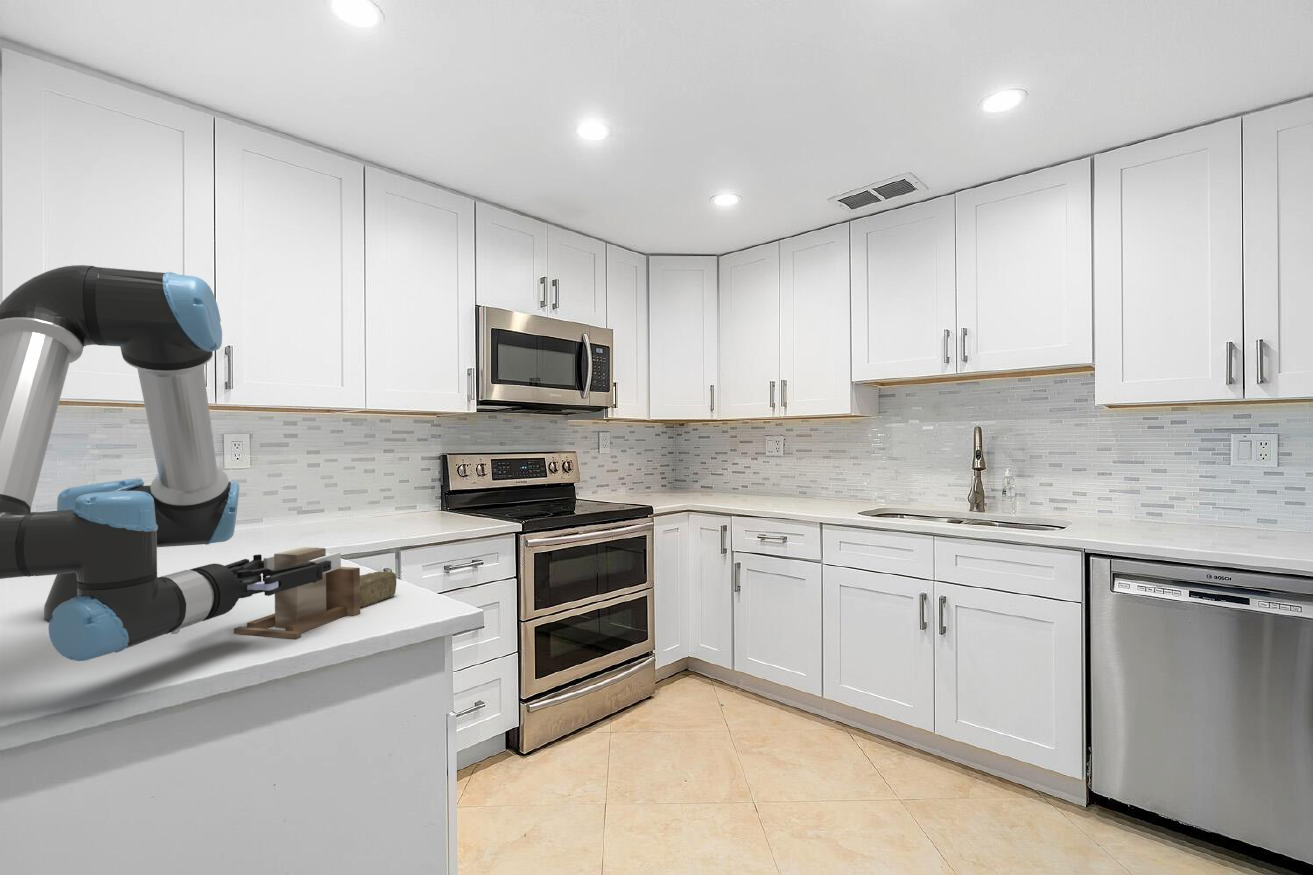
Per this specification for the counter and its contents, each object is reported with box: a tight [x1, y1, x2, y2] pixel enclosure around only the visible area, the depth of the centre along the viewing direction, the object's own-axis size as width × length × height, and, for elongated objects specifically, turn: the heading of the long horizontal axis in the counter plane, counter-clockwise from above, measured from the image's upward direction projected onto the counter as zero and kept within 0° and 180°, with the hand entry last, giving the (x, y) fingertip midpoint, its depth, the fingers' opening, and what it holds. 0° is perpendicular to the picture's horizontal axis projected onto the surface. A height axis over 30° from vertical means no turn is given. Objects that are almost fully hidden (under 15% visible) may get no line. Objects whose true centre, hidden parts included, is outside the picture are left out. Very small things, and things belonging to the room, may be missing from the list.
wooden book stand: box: [233, 566, 361, 640], centre depth 103 cm, size 12×14×8 cm
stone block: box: [360, 571, 397, 608], centre depth 115 cm, size 6×12×5 cm, turn 161°
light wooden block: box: [273, 546, 327, 629], centre depth 103 cm, size 4×6×12 cm
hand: (317, 558), depth 108 cm, fingers open, 8 cm apart
